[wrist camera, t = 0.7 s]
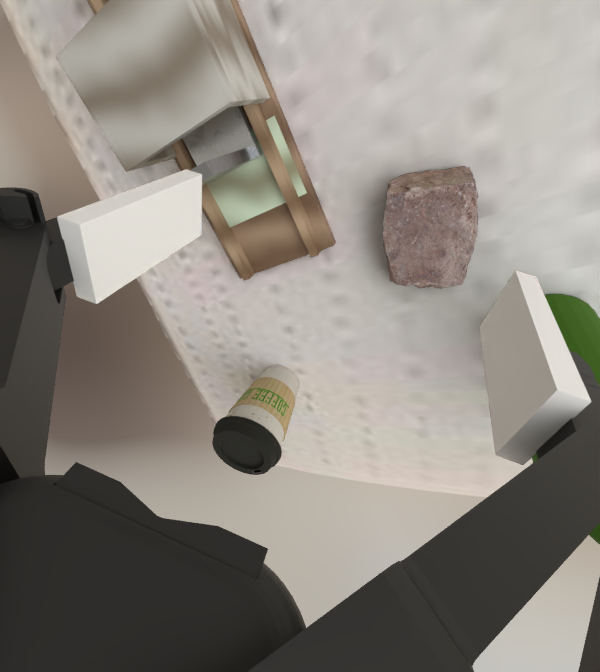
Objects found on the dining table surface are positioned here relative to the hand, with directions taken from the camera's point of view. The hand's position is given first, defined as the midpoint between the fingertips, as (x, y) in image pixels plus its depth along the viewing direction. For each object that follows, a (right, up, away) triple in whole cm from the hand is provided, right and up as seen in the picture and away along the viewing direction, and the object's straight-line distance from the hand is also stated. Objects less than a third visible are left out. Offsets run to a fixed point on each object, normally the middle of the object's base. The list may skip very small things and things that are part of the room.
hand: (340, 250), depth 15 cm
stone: (+12, +8, +24) cm, 28 cm away
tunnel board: (-12, +23, +23) cm, 35 cm away
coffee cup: (-5, -11, +44) cm, 45 cm away
